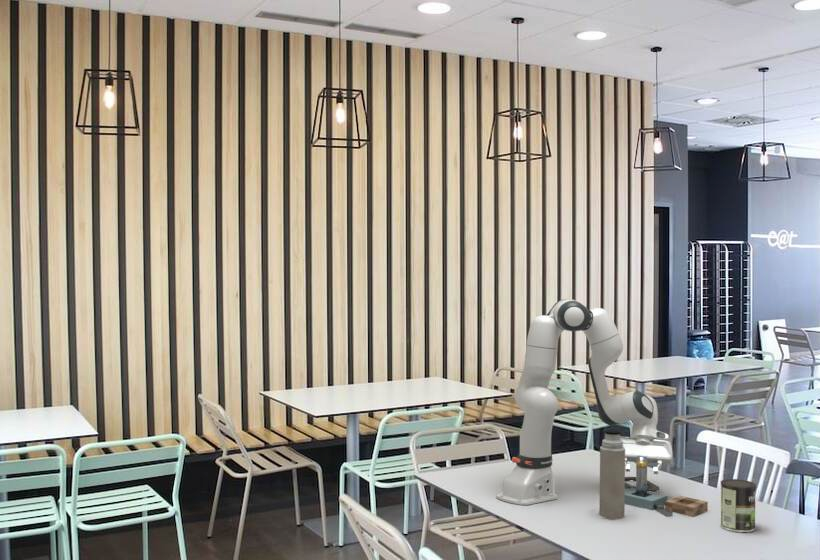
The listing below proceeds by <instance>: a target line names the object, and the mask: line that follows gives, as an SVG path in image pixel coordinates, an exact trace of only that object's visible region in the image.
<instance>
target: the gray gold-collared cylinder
mask: <svg viewBox="0 0 820 560" xmlns="http://www.w3.org/2000/svg"><path fill="white" fill-rule="evenodd" d="M635 469H636V472H635V475H636V476H635V477H636V481H635V482H636V483H635V487H636V496H641V497H647V480H648V463H647V456H641V455H640V456H636V462H635Z"/></svg>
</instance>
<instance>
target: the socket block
mask: <svg viewBox="0 0 820 560" xmlns="http://www.w3.org/2000/svg"><path fill="white" fill-rule="evenodd" d="M708 503H709V502H708V501H706V500H702V499H697V498H692V497H687V496H684V495H678V496H675V497H673V498H671V499H667V501H665V505H664V508H665V509H667V510H669V511H671V512H672V513H674V514H678V515H683V514H684V516H687V515H688V516H687V517H692V518H694V517H696V516H698V515H701V514H702V513H705V512H708Z"/></svg>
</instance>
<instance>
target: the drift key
mask: <svg viewBox="0 0 820 560" xmlns="http://www.w3.org/2000/svg"><path fill="white" fill-rule="evenodd" d="M653 511H656V512H658V513H660V514H661V515H664V516H665V517H666V518H667V517H668V518H669V517H673V512H671V511H669V510H667V509H665V505H664V506H663V505H661V504H654V510H653Z"/></svg>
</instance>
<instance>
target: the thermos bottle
mask: <svg viewBox="0 0 820 560" xmlns="http://www.w3.org/2000/svg"><path fill="white" fill-rule="evenodd" d="M604 433H605V434H604V438H603V439H602V442H601V446H600V447H599V516H600V517H601V518H603V517H604V518H603V519H607V520H620V519H624V518H625V505H626V504H625V490H626V489H625V487H626V486H625V482H626V481H625V477H626V475H625V473H626V471H625V448H624V447H623V441H622V440H620V436H621V430H618V429H605V431H604Z"/></svg>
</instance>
